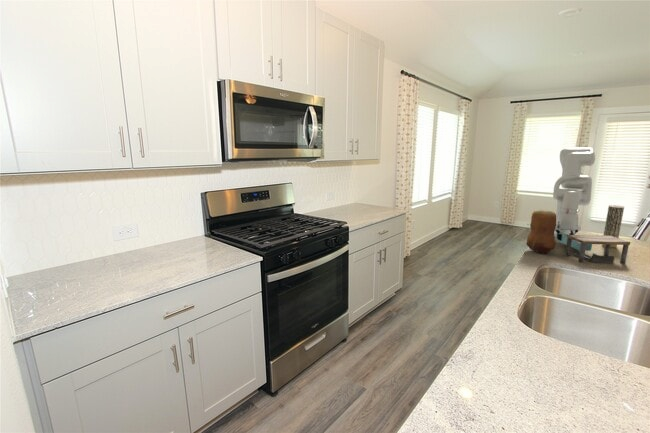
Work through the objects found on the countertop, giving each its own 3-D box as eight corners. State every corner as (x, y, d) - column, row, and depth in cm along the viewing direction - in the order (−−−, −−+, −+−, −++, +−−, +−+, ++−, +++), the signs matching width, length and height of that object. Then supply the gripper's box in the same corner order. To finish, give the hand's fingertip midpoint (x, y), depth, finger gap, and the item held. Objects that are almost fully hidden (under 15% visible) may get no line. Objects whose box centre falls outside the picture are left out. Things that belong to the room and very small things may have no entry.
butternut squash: (545, 249, 184) (551, 207, 179) (559, 256, 171) (566, 212, 166) (520, 248, 186) (525, 207, 181) (533, 255, 173) (539, 211, 168)
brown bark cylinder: (619, 248, 186) (627, 206, 181) (608, 248, 186) (615, 206, 181) (609, 244, 192) (617, 205, 187) (598, 244, 193) (605, 205, 188)
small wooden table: (564, 254, 175) (567, 234, 172) (606, 255, 172) (610, 235, 170) (580, 262, 162) (583, 241, 160) (626, 263, 160) (630, 242, 157)
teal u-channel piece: (555, 239, 195) (556, 233, 194) (565, 240, 194) (566, 234, 193) (579, 250, 173) (580, 243, 173) (591, 250, 173) (592, 243, 172)
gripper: (580, 210, 190) (575, 238, 193) (550, 210, 192) (546, 238, 195) (589, 212, 182) (584, 242, 186) (557, 212, 184) (553, 241, 188)
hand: (564, 239), depth 190 cm, fingers closed on teal u-channel piece, 6 cm apart
